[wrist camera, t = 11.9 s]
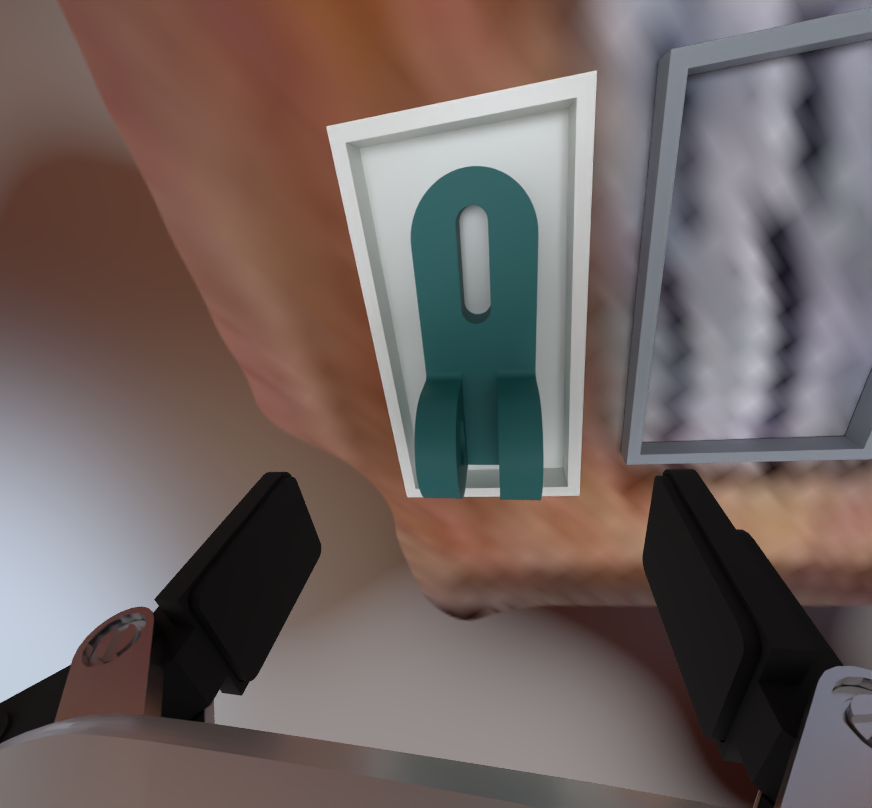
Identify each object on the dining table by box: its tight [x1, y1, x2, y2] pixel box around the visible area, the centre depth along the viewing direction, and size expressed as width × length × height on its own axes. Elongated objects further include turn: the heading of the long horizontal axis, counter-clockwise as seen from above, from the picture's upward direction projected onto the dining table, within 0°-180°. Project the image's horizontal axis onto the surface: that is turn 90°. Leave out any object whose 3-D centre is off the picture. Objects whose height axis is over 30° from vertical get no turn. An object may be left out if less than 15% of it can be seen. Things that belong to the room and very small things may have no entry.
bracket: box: [411, 166, 544, 500], centre depth 21 cm, size 18×7×8 cm, turn 5°
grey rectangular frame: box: [621, 7, 872, 465], centre depth 21 cm, size 15×23×2 cm, turn 8°
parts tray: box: [326, 70, 597, 497], centre depth 24 cm, size 13×24×3 cm, turn 8°
